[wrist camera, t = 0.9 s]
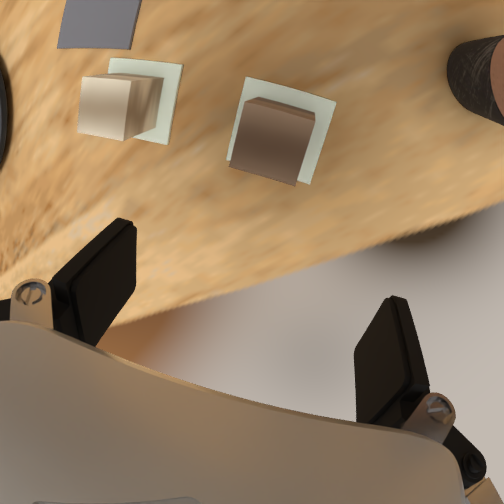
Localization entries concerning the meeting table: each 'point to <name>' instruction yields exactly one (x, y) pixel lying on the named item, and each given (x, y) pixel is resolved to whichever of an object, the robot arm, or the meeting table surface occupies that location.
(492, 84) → the travel mug
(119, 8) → the mat
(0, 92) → the electronic game
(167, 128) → the tile
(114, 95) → the birch block
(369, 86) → the meeting table surface
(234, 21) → the meeting table surface
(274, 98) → the tile
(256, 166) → the walnut block
